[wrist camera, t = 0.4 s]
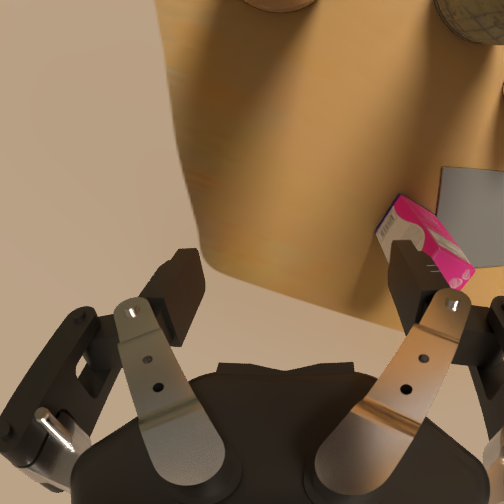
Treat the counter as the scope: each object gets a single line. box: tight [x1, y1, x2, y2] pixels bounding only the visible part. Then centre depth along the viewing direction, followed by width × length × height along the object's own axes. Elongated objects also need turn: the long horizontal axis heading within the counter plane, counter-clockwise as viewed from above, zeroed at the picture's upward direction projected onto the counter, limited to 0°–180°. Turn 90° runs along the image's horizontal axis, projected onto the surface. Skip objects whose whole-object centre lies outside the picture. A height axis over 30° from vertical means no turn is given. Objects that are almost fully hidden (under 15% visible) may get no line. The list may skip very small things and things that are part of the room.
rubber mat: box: [436, 167, 504, 268], centre depth 31 cm, size 14×14×1 cm
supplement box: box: [375, 194, 476, 291], centre depth 28 cm, size 6×6×12 cm
